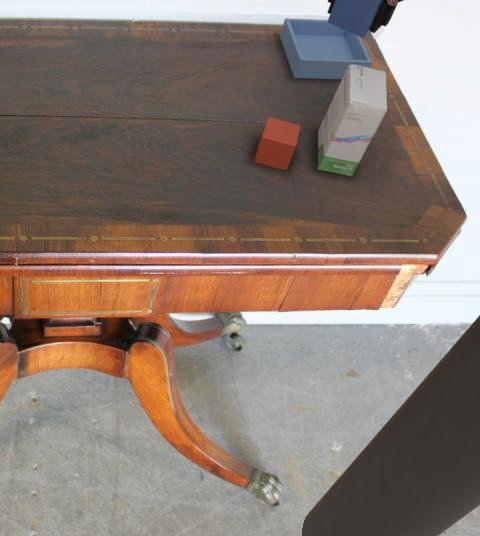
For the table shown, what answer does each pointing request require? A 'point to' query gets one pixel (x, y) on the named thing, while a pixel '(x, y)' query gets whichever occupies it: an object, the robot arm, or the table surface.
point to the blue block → (354, 15)
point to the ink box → (352, 119)
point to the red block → (277, 143)
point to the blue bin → (321, 49)
